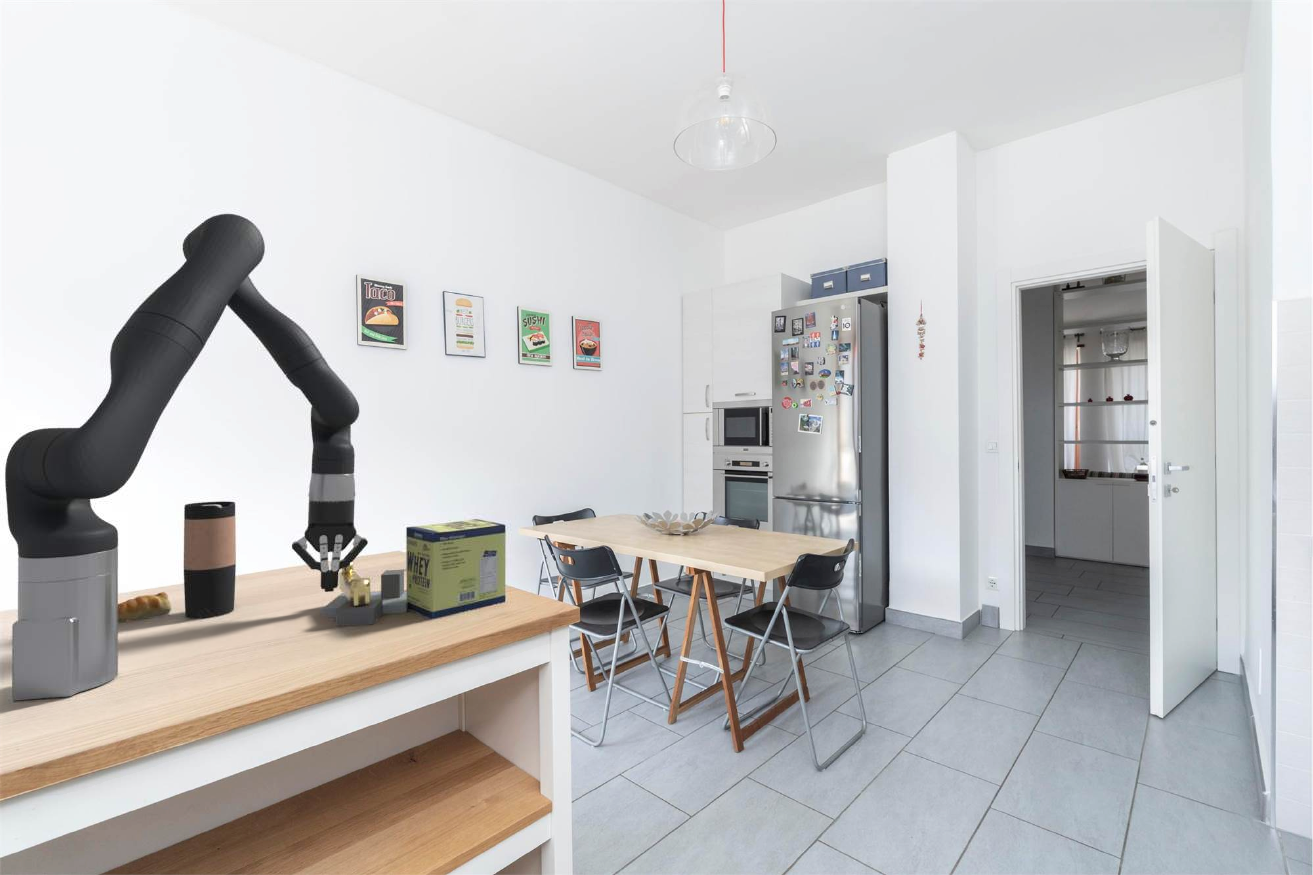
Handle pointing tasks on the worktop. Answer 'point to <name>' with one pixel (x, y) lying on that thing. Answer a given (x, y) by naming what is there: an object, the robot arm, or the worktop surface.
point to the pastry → (144, 607)
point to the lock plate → (371, 602)
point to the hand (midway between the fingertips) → (328, 590)
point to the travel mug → (209, 559)
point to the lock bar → (354, 586)
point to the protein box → (455, 567)
